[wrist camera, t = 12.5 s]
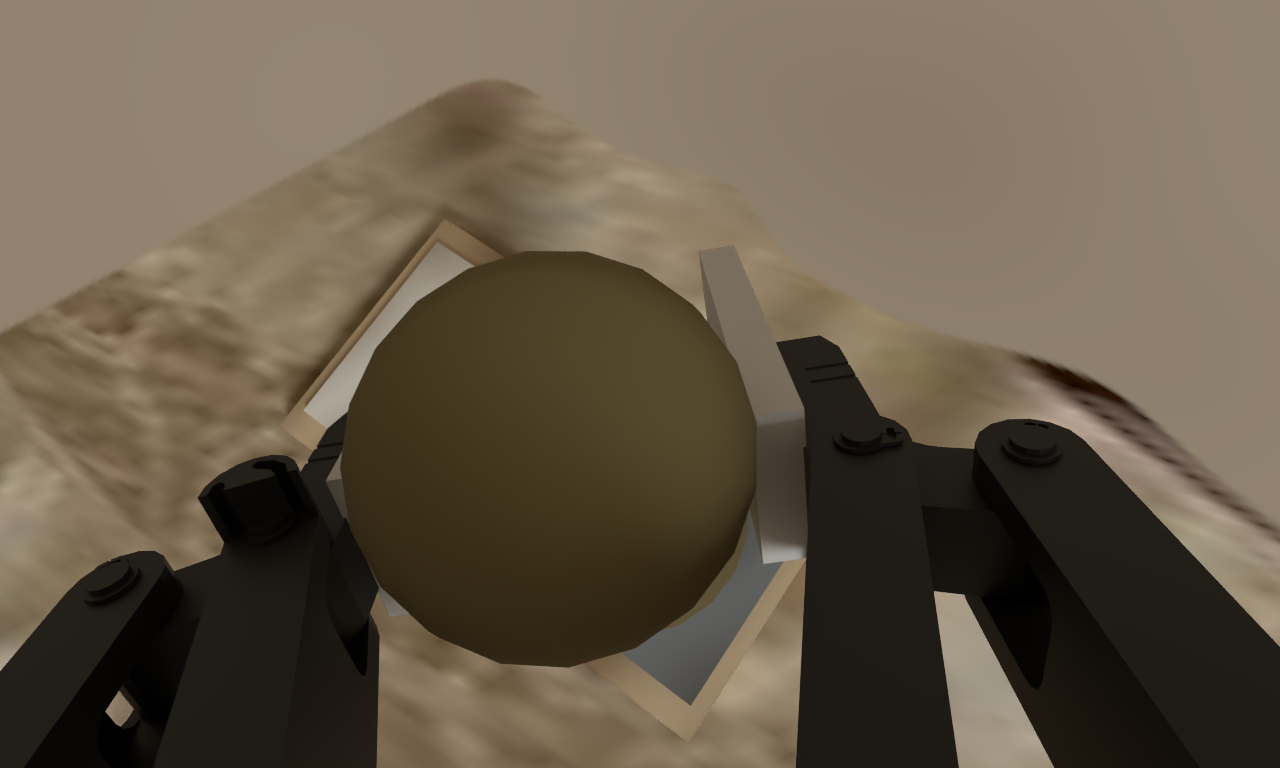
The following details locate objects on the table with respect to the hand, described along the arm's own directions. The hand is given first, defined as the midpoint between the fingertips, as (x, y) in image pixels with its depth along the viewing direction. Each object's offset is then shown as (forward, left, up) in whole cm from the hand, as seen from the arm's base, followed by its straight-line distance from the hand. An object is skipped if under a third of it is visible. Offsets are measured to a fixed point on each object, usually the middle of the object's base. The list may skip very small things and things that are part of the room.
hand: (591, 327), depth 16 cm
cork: (+3, -3, -3) cm, 5 cm away
